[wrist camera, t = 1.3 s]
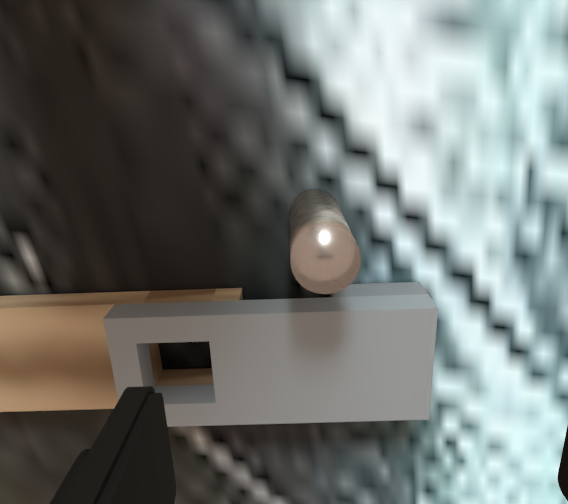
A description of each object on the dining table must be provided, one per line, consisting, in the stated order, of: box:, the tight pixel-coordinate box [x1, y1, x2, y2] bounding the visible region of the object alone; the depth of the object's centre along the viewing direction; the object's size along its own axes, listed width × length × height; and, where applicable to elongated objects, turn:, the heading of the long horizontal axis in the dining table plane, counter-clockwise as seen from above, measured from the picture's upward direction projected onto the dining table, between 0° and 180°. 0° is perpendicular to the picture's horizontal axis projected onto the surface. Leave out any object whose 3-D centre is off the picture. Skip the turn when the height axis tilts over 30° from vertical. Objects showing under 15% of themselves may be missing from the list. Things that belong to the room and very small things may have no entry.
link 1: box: [0, 288, 243, 412], centre depth 31 cm, size 8×20×2 cm, turn 92°
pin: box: [289, 189, 361, 294], centre depth 25 cm, size 3×3×9 cm
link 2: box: [103, 282, 438, 427], centre depth 30 cm, size 8×20×4 cm, turn 92°
